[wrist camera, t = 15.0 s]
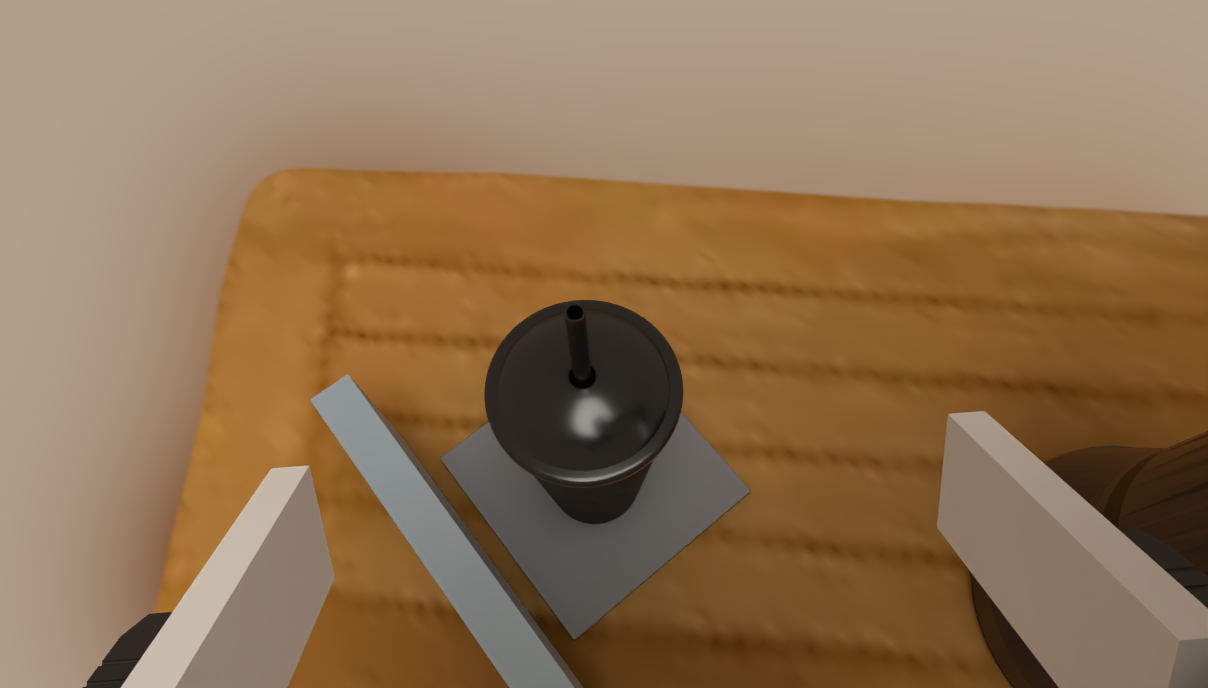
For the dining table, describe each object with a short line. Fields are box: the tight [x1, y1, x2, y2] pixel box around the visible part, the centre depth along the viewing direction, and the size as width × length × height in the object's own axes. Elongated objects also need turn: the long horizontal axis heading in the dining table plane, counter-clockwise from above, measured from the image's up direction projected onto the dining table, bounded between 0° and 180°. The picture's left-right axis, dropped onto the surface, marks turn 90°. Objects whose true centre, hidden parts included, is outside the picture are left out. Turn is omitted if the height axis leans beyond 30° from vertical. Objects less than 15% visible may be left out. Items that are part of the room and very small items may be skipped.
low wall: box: [311, 374, 584, 688], centre depth 38 cm, size 2×18×9 cm, turn 39°
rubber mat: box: [440, 412, 751, 640], centre depth 43 cm, size 12×12×1 cm
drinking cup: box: [485, 300, 683, 524], centre depth 34 cm, size 8×8×20 cm
